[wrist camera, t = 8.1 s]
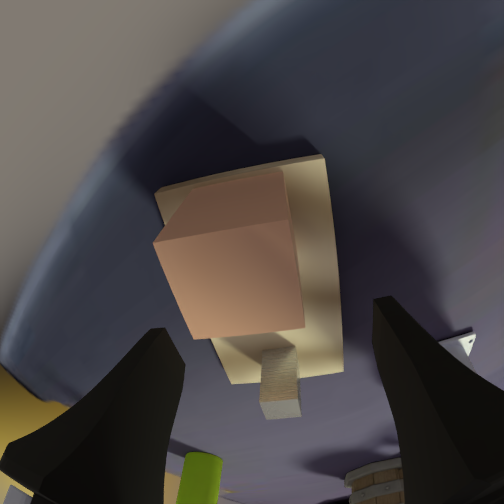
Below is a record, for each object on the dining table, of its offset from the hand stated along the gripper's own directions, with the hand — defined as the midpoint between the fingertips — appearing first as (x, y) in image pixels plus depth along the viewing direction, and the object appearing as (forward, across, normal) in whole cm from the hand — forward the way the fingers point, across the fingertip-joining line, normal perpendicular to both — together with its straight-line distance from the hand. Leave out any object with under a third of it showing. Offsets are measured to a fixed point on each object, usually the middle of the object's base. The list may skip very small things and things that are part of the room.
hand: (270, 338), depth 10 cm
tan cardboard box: (+9, +2, 0) cm, 9 cm away
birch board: (+10, +2, +6) cm, 12 cm away
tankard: (+11, -13, +50) cm, 53 cm away
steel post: (+9, +1, +12) cm, 15 cm away
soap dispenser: (+11, +18, +36) cm, 42 cm away
